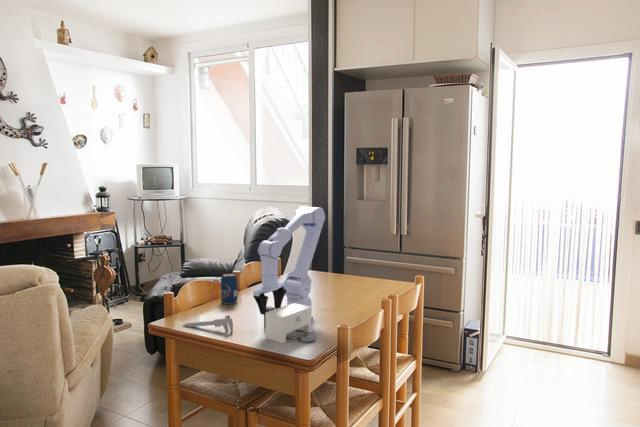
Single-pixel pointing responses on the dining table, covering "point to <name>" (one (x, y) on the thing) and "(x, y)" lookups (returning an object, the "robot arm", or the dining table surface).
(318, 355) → the dining table surface
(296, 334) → the grey piece
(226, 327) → the caliper
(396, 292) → the dining table surface
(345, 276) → the dining table surface
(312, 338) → the token
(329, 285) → the dining table surface
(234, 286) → the soda can
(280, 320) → the cabinet
